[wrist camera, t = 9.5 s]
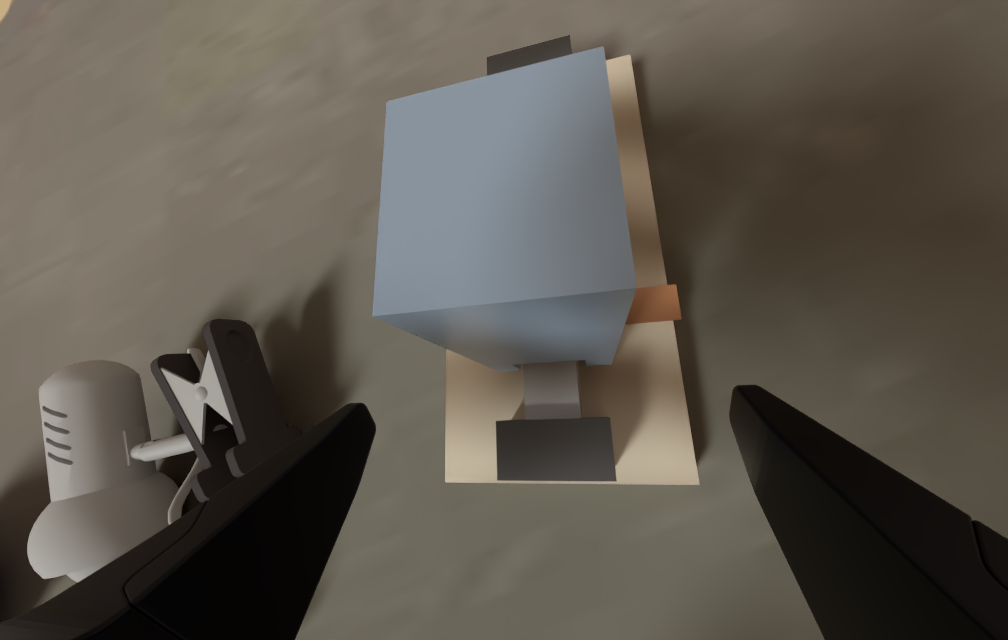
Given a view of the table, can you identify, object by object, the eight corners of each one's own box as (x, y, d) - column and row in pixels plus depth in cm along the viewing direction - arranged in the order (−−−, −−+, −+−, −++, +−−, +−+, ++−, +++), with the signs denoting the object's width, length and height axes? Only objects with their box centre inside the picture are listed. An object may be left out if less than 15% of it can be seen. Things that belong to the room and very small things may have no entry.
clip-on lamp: (352, 649, 19) (288, 317, 20) (257, 805, 13) (173, 306, 14) (153, 685, 20) (105, 365, 21) (-29, 847, 14) (-80, 376, 15)
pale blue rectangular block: (611, 364, 14) (636, 287, 6) (498, 371, 15) (372, 316, 7) (599, 251, 16) (603, 46, 7) (496, 265, 17) (386, 101, 8)
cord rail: (697, 478, 14) (733, 500, 11) (451, 476, 17) (410, 494, 13) (633, 78, 20) (642, 0, 16) (453, 120, 22) (425, 60, 18)
